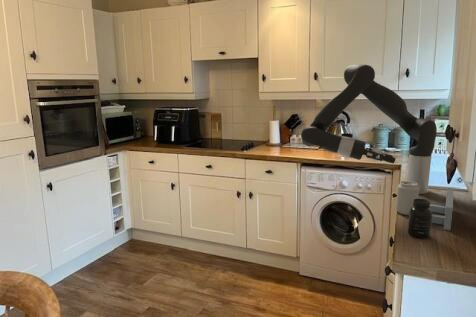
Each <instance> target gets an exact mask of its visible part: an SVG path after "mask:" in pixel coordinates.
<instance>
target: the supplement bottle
mask: <svg viewBox="0 0 476 317" xmlns="http://www.w3.org/2000/svg"><path fill="white" fill-rule="evenodd" d="M430 204H431V202H430V200H428V199H426V198H418V199H414V201H413V207H411V208H410V210H409V215H408V222H407V235H409V236H410V237H412V238H414V239H418V240H428V239H429V238H430V237H431V231H432V224H433V223H432V215H433V212H432V211H431V210H430V209H429V208H430Z"/></svg>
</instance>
